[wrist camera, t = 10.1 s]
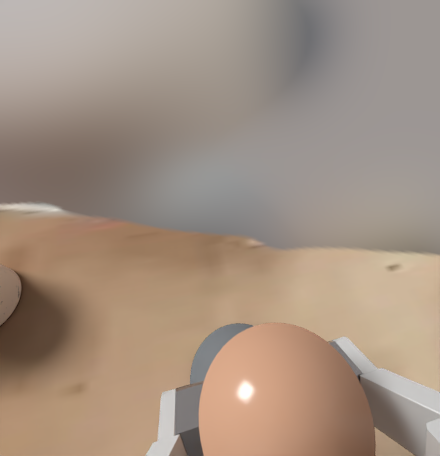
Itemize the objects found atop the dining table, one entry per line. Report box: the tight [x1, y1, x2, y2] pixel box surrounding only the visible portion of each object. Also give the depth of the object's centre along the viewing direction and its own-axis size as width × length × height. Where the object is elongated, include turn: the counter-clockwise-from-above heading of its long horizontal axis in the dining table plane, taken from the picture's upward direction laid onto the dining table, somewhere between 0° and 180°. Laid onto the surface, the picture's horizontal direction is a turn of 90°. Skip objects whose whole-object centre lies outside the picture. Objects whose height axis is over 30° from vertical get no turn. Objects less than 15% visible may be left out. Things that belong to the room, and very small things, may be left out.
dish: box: [190, 324, 253, 384], centre depth 25 cm, size 10×10×1 cm
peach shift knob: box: [199, 323, 375, 456], centre depth 10 cm, size 4×4×9 cm
